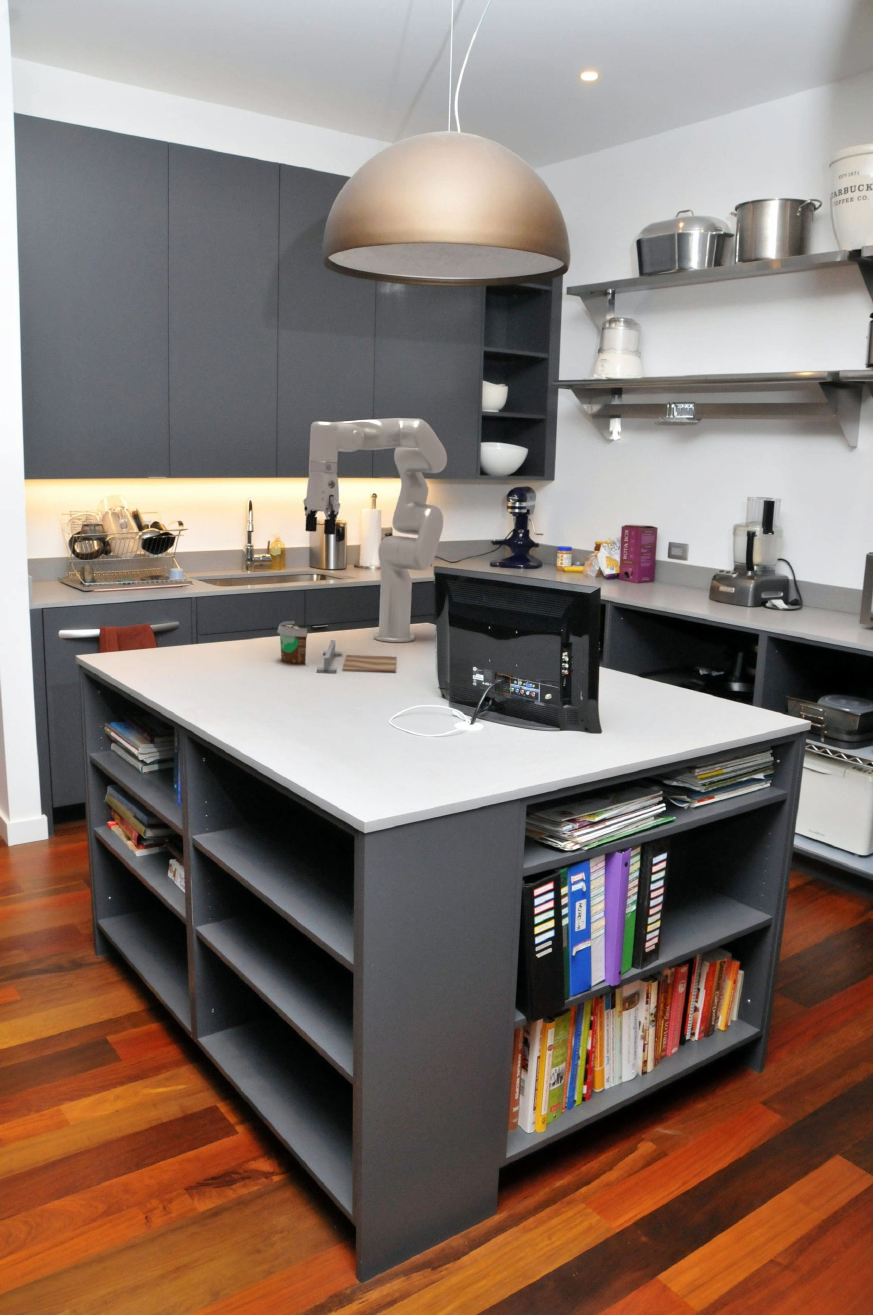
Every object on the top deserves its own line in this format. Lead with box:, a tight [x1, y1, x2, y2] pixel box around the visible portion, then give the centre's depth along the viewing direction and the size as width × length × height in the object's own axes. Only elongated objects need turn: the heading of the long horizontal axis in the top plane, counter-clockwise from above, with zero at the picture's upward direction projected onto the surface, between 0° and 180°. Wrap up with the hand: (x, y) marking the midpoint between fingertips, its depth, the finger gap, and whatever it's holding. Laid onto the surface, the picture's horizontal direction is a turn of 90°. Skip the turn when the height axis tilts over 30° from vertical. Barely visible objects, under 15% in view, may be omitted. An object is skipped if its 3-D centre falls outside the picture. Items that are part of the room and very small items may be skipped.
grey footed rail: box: [316, 639, 343, 674], centre depth 271 cm, size 24×5×4 cm, turn 2°
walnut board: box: [342, 654, 397, 674], centre depth 272 cm, size 18×14×1 cm
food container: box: [277, 620, 308, 666], centre depth 270 cm, size 12×6×10 cm, turn 25°
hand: (320, 532), depth 272 cm, fingers open, 9 cm apart
